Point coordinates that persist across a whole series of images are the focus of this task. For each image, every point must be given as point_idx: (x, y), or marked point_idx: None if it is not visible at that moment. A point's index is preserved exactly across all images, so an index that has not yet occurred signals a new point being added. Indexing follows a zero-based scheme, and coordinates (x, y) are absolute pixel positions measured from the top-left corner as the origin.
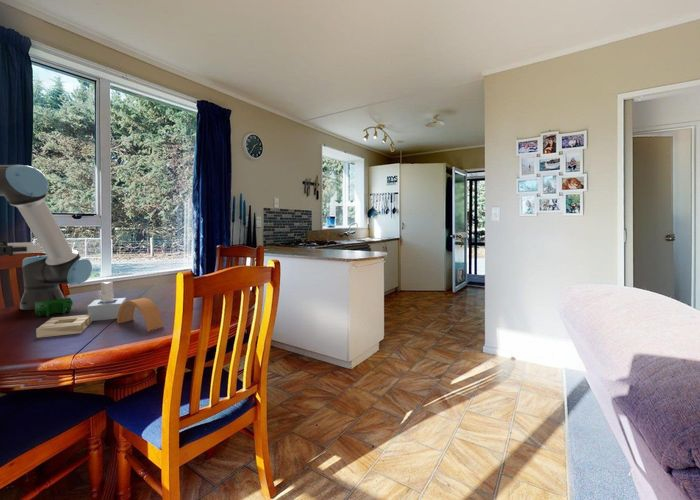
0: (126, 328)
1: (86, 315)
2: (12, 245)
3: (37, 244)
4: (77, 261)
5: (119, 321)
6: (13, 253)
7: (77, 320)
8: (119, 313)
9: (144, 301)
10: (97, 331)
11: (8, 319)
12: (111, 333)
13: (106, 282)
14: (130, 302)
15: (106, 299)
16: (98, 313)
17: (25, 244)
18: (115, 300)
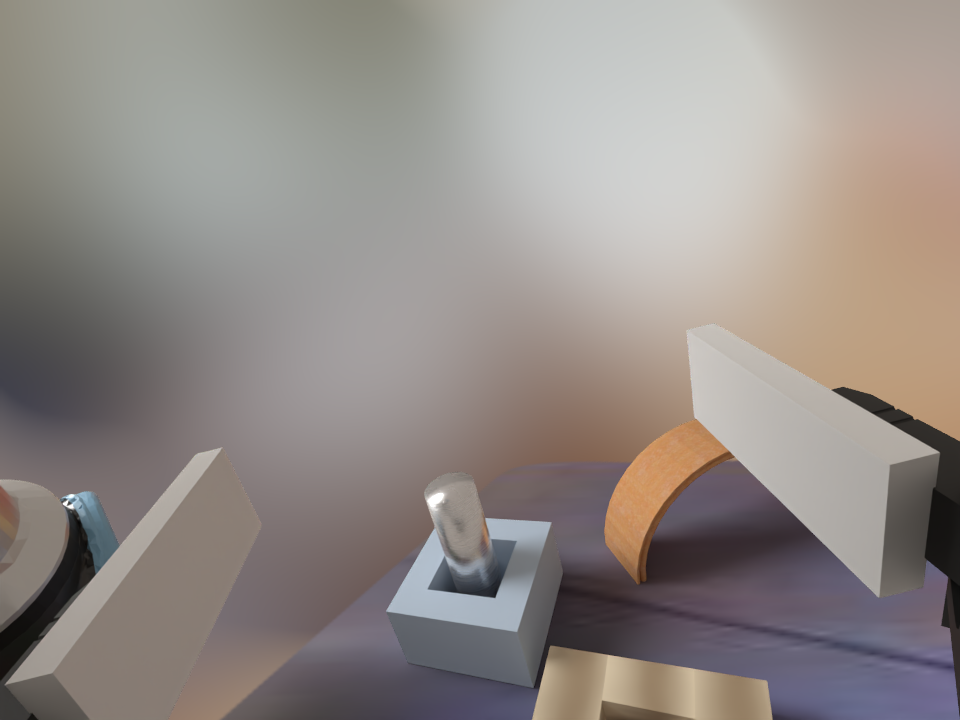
0: (750, 555)
1: (561, 664)
2: (927, 458)
3: (725, 330)
4: (98, 522)
5: (645, 572)
6: (916, 581)
7: (657, 699)
8: (650, 541)
9: None
10: (760, 646)
11: None
12: (818, 598)
13: (444, 488)
14: (725, 457)
15: (492, 553)
16: (537, 623)
17: (199, 517)
18: None
